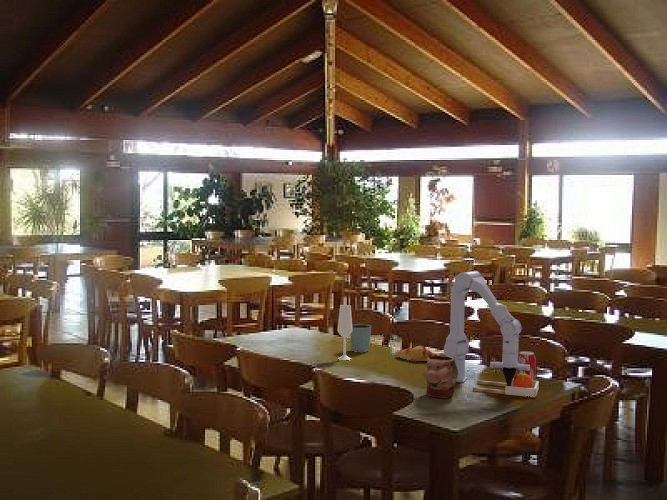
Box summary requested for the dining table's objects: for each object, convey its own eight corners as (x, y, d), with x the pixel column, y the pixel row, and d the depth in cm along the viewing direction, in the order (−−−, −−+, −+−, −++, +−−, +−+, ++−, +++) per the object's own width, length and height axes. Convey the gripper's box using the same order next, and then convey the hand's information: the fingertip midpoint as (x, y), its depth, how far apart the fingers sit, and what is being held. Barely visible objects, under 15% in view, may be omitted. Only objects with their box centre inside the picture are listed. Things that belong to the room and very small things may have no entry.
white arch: (505, 394, 284) (505, 386, 284) (509, 386, 297) (509, 378, 297) (535, 397, 281) (536, 389, 280) (538, 388, 293) (538, 381, 293)
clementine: (532, 394, 284) (533, 375, 284) (513, 393, 286) (513, 374, 285) (531, 389, 292) (532, 371, 292) (512, 388, 293) (513, 370, 293)
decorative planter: (431, 386, 294) (432, 350, 293) (463, 389, 290) (464, 353, 289) (417, 398, 276) (418, 360, 275) (450, 402, 271) (451, 363, 270)
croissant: (393, 366, 345) (390, 352, 341) (400, 352, 353) (397, 338, 349) (439, 370, 336) (436, 356, 332) (444, 356, 344) (442, 341, 340)
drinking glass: (374, 350, 361) (375, 325, 361) (363, 354, 353) (364, 328, 352) (356, 348, 367) (356, 323, 366) (345, 351, 358) (345, 326, 357)
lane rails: (472, 390, 288) (472, 387, 288) (477, 383, 301) (477, 380, 301) (504, 394, 285) (505, 390, 284) (508, 386, 297) (509, 383, 297)
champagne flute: (352, 357, 344) (353, 304, 343) (351, 361, 338) (352, 306, 336) (337, 357, 345) (338, 304, 343) (336, 360, 338) (337, 306, 337)
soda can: (536, 385, 299) (537, 355, 298) (517, 384, 300) (518, 354, 298) (533, 380, 306) (534, 350, 305) (515, 379, 307) (516, 350, 305)
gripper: (489, 352, 288) (488, 388, 289) (529, 355, 283) (527, 392, 284) (491, 349, 295) (490, 384, 296) (530, 352, 290) (529, 387, 291)
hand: (509, 387), depth 290 cm, fingers closed
